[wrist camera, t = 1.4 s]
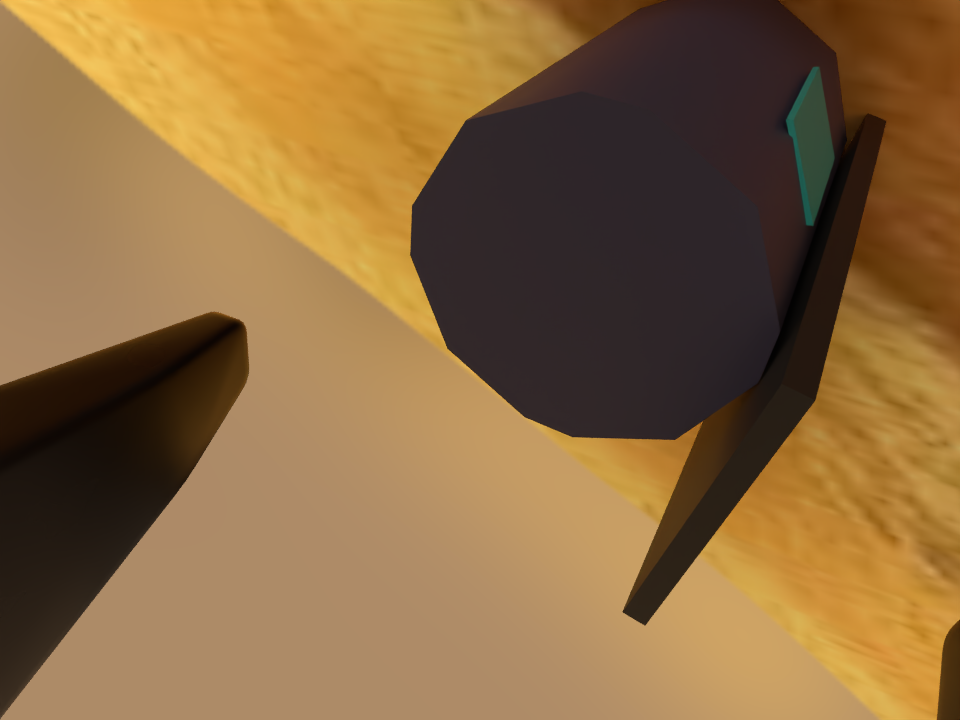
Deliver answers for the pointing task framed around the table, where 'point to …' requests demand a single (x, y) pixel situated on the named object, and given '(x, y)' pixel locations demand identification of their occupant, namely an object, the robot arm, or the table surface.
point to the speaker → (656, 246)
